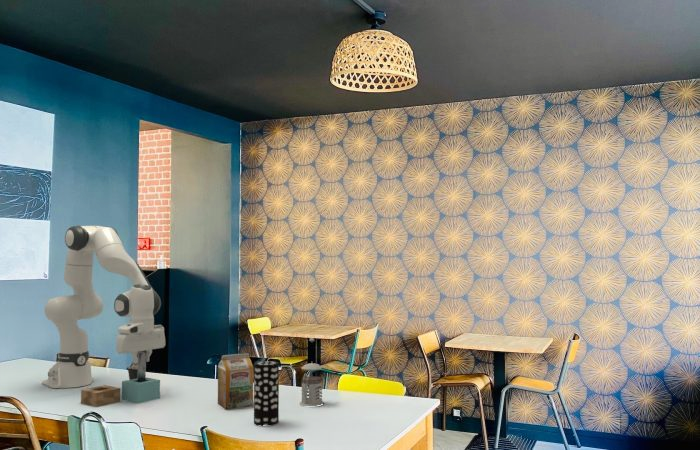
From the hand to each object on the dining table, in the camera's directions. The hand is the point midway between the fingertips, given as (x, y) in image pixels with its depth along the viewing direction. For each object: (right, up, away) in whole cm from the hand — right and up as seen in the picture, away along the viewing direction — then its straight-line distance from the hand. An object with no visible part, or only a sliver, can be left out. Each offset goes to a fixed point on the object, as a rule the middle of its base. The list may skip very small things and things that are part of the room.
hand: (141, 362), depth 236 cm
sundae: (-8, -16, +14) cm, 23 cm away
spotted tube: (+53, -14, -30) cm, 62 cm away
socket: (-14, -15, -6) cm, 21 cm away
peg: (0, -8, 0) cm, 8 cm away
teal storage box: (0, -15, -1) cm, 15 cm away
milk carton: (+38, -15, -6) cm, 41 cm away
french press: (+66, -15, -5) cm, 68 cm away
